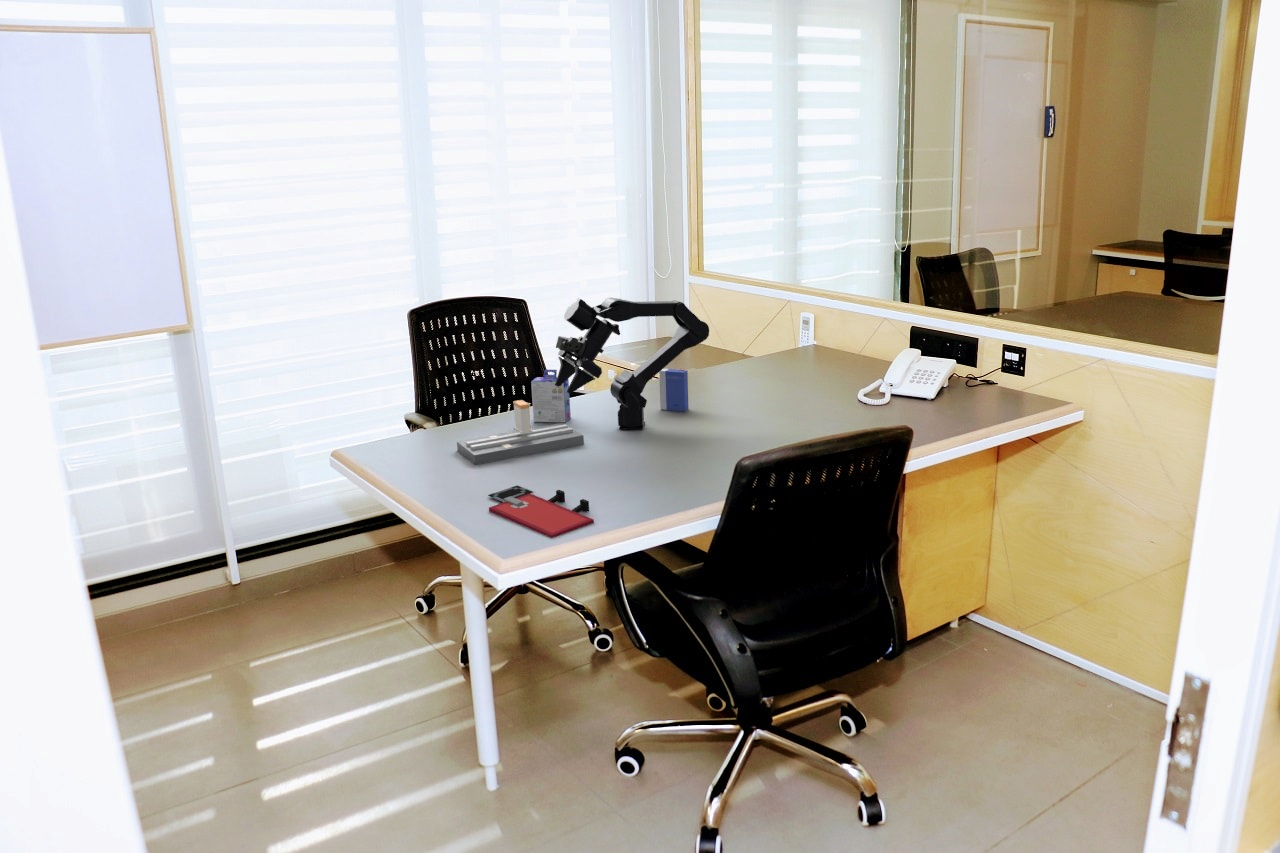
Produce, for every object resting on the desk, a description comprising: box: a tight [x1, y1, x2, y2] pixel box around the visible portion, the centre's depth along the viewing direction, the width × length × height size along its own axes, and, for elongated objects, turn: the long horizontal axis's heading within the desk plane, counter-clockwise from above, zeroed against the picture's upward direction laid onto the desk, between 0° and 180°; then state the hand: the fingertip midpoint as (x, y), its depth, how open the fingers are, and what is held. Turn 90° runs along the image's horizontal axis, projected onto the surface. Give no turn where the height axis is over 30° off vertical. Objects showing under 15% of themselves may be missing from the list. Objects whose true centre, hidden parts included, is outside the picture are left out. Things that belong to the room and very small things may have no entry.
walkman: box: [659, 368, 690, 412], centre depth 301 cm, size 8×3×12 cm, turn 63°
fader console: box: [456, 422, 585, 465], centre depth 272 cm, size 30×14×3 cm, turn 118°
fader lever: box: [512, 399, 533, 436], centre depth 271 cm, size 3×6×9 cm, turn 28°
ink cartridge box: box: [530, 368, 572, 423], centre depth 295 cm, size 10×6×14 cm, turn 78°
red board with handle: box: [487, 484, 595, 539], centre depth 227 cm, size 30×3×15 cm
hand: (562, 389), depth 276 cm, fingers open, 9 cm apart
